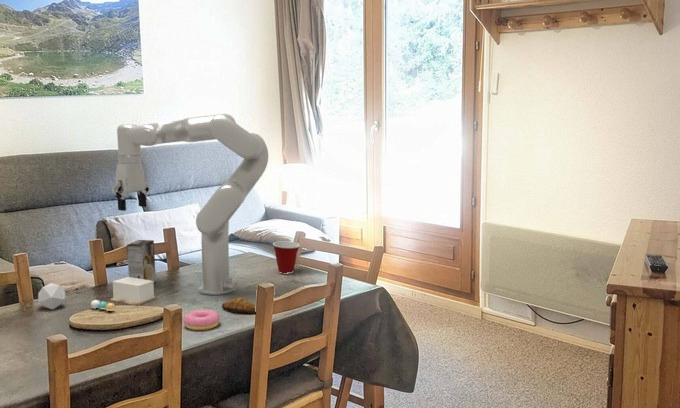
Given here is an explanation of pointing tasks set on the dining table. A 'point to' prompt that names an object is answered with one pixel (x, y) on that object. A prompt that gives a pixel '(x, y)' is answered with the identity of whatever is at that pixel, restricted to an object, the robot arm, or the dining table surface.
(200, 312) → the doughnut
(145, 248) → the coffee box
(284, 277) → the dining table surface
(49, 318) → the dining table surface
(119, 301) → the tan flat pointed slab
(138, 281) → the white rounded block
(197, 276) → the dining table surface
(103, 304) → the marble teal
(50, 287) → the die
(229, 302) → the croissant
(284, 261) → the plastic cup
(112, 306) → the marble amber
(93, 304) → the marble white
